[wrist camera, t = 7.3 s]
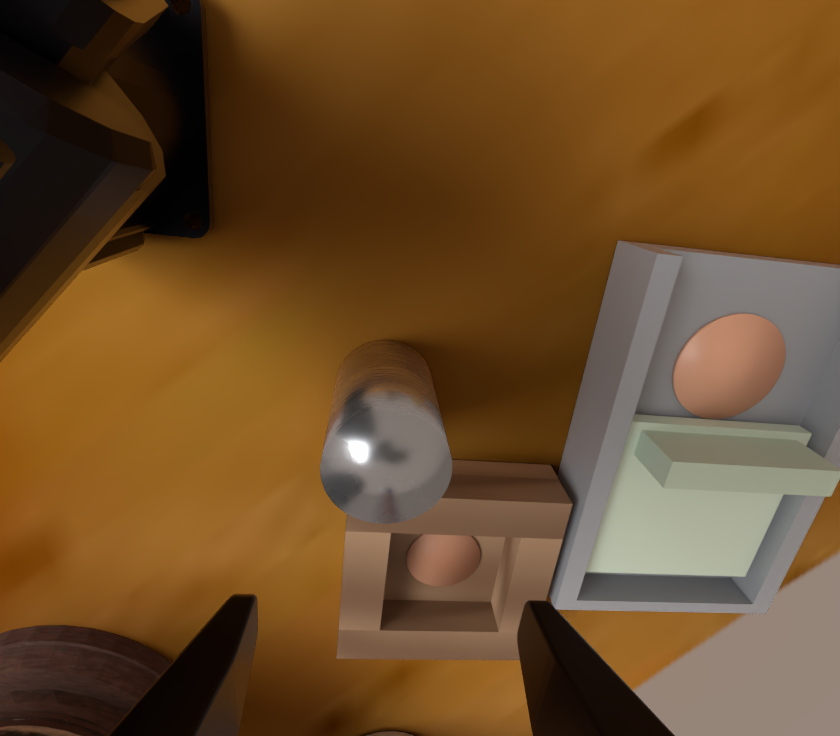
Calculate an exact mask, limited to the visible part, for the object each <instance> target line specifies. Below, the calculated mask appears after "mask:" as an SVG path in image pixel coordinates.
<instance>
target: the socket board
mask: <svg viewBox="0 0 840 736" xmlns="http://www.w3.org/2000/svg"><path fill="white" fill-rule="evenodd" d="M572 505H573V504H572V502H571V500H570V498H569V497H568V495H567V493H566V491H565V490H564V488H563V486H562V484H561V483H560V481H559V479H558V477H557V475H556V474H555V472H554V470H553V468H552V467H551V465H543V464H525V463H507V462H488V461H470V460H452V475H451V479H450V483H449V485H448V488H447V489H446V491H445V493H444V495H443V496H442V497H441V499H440V500H439V501H438V502H437V503H436V504H435V505H434V506H433V507H432V508H430V509H429V510H428V511H426V512H425V513H423V514H421V515H419V516H417V517H415V518H413V519H410V520H407V521H403V522H399V523H391V524H379V523H371V522H366V521H363V520H359V519H357V518H354V517H352V516H350V515H348V514H347V520H346V534H345V548H344V562H343V576H342V590H341V604H340V617H339V631H338V645H337V659H429V660H520V657H519V651H518V644H517V632H518V628H519V624H520V620H521V616H522V612H523V608H524V605H525V603H526V602H527V601H529V600H544V601H546V598H547V595H548V591H549V587H550V584H551V580H552V577H553V573H554V569H555V566H556V562H557V559H558V555H559V552H560V548H561V544H562V541H563V537H564V534H565V530H566V526H567V523H568V519H569V516H570V512H571V508H572Z"/></svg>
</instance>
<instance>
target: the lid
mask: <svg viewBox="0 0 840 736" xmlns="http://www.w3.org/2000/svg"><path fill="white" fill-rule="evenodd" d="M811 435H812V433H810V432H809V431H807V430H806V429H804V428H802V427H801V426H799V425H785V424H770V423H756V422H741V421H726V420H712V419H697V418H682V417H668V416H653V415H638V414H634V417H633V420H632V423H631V426H630V430H629V433H628V436H627V439H626V443H625V446H624V449H623V452H622V456H621V459H620V462H619V465H618V469H617V472H616V475H615V478H614V481H613V485H612V488H611V491H610V494H609V498H608V501H607V504H606V507H605V511H604V514H603V517H602V520H601V524H600V527H599V530H598V533H597V536H596V540H595V543H594V546H593V549H592V553H591V556H590V559H589V562H588V566H587V569H586V572H601V573H635V574H670V575H704V576H738V577H745V576H746V574H747V572H748V570H749V568H750V565H751V563H752V561H753V559H754V557H755V555H756V553H757V550H758V548H759V546H760V544H761V542H762V540H763V538H764V536H765V533H766V531H767V529H768V527H769V525H770V523H771V521H772V518H773V516H774V514H775V512H776V510H777V508H778V506H779V503H780V501H781V499H782V497H783V495H784V494H788V495H808V496H827V497H831V495H832V493H833V491H834V489H835V487H836V485H837V483H838V482H839V480H840V469H839V468H838V467H836V466H835V465H833V464H832V463H830V462H829V461H827V460H826V459H824V458H823V457H821V456H820V455H818V454H817V453H815V452H814V451H812V450H811V449H809V448H808V447H806V446H807V443H808V441H809V439H810V437H811Z"/></svg>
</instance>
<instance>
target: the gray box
mask: <svg viewBox="0 0 840 736" xmlns="http://www.w3.org/2000/svg"><path fill="white" fill-rule="evenodd" d="M634 414H638V415H653V416H668V417H682V418H697V419H712V420H726V421H741V422H756V423H770V424H785V425H799V426H801V427H802V428H804V429H806V430H807V431H809V432H810V433H812V435H811V437H810V439H809V441H808V443H807V446H806V447H808V448H809V449H811V450H812V451H814V452H815V453H817V454H818V455H820V456H821V457H823V458H824V459H826V460H827V461H829V462H830V463H832V464H833V465H835V466H836V467H838V468H839V469H840V265H837V264H828V263H819V262H810V261H801V260H792V259H783V258H774V257H765V256H756V255H747V254H737V253H728V252H719V251H710V250H701V249H692V248H683V247H674V246H665V245H656V244H647V243H638V242H629V241H620V240H618V242H617V246H616V250H615V254H614V258H613V261H612V265H611V269H610V273H609V277H608V281H607V285H606V289H605V292H604V296H603V300H602V304H601V308H600V312H599V316H598V320H597V324H596V327H595V331H594V335H593V339H592V343H591V347H590V351H589V355H588V358H587V362H586V366H585V370H584V374H583V378H582V382H581V386H580V390H579V393H578V397H577V401H576V405H575V409H574V413H573V417H572V421H571V425H570V428H569V432H568V436H567V440H566V444H565V448H564V452H563V456H562V459H561V463H560V467H559V471H558V475H557V477H558V479H559V481H560V483H561V484H562V486H563V488H564V490H565V491H566V493H567V495H568V497H569V498H570V500H571V502H572V504H573V505H572V508H571V512H570V516H569V519H568V523H567V526H566V530H565V534H564V537H563V541H562V544H561V548H560V552H559V555H558V559H557V562H556V566H555V569H554V573H553V577H552V580H551V584H550V587H549V591H548V594H549V597H550V599H551V602H552V604H553V606H554V607H555V609H556V610H606V611H656V612H707V613H758V614H759V613H761V614H766V613H767V611H768V609H769V607H770V605H771V603H772V601H773V599H774V597H775V595H776V593H777V591H778V589H779V587H780V585H781V583H782V581H783V579H784V577H785V575H786V573H787V571H788V569H789V567H790V565H791V564H792V562H793V560H794V558H795V556H796V554H797V552H798V550H799V548H800V546H801V544H802V542H803V540H804V538H805V536H806V534H807V532H808V530H809V528H810V526H811V524H812V522H813V520H814V518H815V516H816V514H817V512H818V510H819V508H820V506H821V504H822V502H823V500H824V498H825V496H808V495H788V494H784V495H783V497H782V499H781V501H780V503H779V506H778V508H777V510H776V512H775V514H774V516H773V518H772V521H771V523H770V525H769V527H768V529H767V531H766V533H765V536H764V538H763V540H762V542H761V544H760V546H759V548H758V550H757V553H756V555H755V557H754V559H753V561H752V563H751V565H750V568H749V570H748V572H747V574H746V576H745V577H738V576H704V575H670V574H635V573H601V572H586V569H587V566H588V562H589V559H590V556H591V553H592V549H593V546H594V543H595V540H596V536H597V533H598V530H599V527H600V524H601V520H602V517H603V514H604V511H605V507H606V504H607V501H608V498H609V494H610V491H611V488H612V485H613V481H614V478H615V475H616V472H617V469H618V465H619V462H620V459H621V456H622V452H623V449H624V446H625V443H626V439H627V436H628V433H629V430H630V426H631V423H632V420H633V417H634Z"/></svg>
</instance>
